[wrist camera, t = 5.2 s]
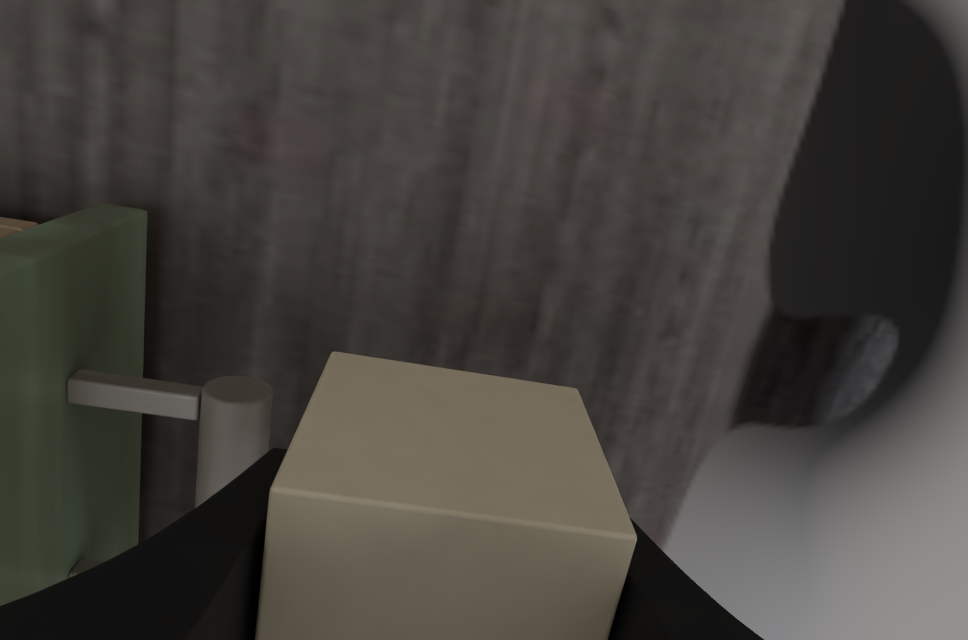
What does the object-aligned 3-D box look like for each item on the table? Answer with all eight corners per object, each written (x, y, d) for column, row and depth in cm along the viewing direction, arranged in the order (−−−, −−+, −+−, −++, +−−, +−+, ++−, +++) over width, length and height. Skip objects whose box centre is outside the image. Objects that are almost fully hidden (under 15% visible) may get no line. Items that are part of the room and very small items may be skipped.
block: (578, 387, 13) (640, 537, 9) (528, 588, 14) (561, 803, 10) (331, 349, 13) (268, 488, 8) (305, 560, 14) (240, 773, 10)
